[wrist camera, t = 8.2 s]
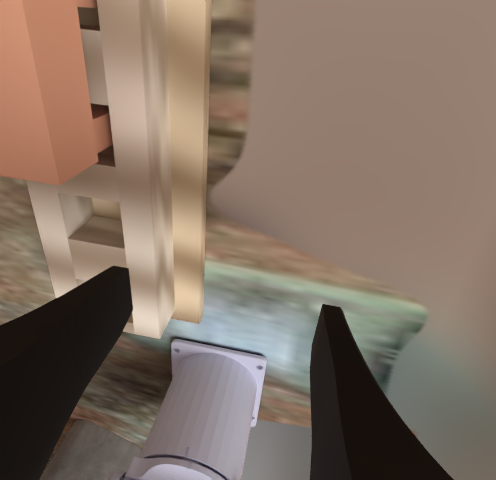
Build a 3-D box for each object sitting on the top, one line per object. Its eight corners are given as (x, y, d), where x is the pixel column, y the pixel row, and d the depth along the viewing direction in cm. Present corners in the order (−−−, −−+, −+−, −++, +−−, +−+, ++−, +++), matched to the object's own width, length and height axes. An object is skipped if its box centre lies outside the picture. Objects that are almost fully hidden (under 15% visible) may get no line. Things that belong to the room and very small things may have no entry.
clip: (135, 138, 21) (59, 185, 15) (86, 131, 21) (-8, 174, 15) (121, -37, 16) (7, -71, 10) (60, -43, 17) (-85, -79, 11)
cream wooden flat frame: (202, 314, 28) (186, 354, 25) (72, 289, 29) (39, 324, 26) (214, -96, 15) (183, -129, 12) (-17, -113, 17) (-104, -147, 13)
